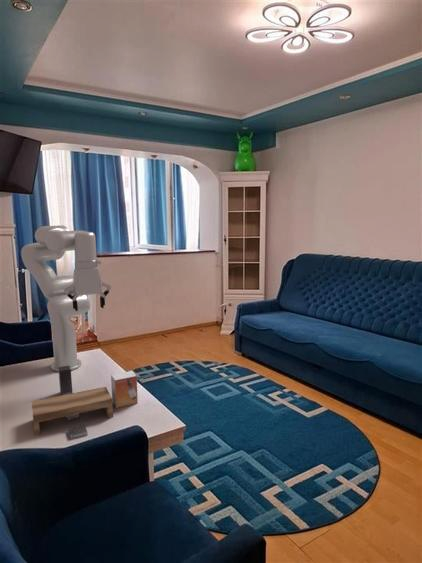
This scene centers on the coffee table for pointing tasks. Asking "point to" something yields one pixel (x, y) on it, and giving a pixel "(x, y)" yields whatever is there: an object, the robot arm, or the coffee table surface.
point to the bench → (71, 405)
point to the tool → (66, 384)
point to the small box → (124, 389)
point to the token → (77, 431)
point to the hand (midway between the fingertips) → (89, 308)
